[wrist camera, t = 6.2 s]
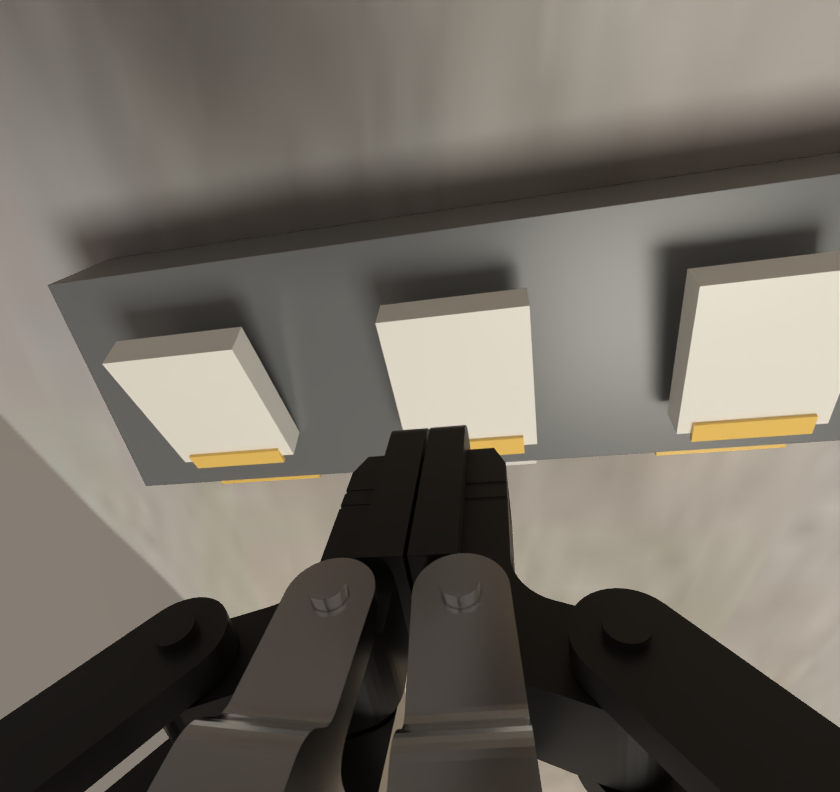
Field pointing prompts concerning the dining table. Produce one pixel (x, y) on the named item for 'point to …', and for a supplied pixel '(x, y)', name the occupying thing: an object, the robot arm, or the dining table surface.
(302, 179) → the dining table surface
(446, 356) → the switch
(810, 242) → the switch box
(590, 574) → the dining table surface
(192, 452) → the switch
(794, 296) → the switch
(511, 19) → the dining table surface
